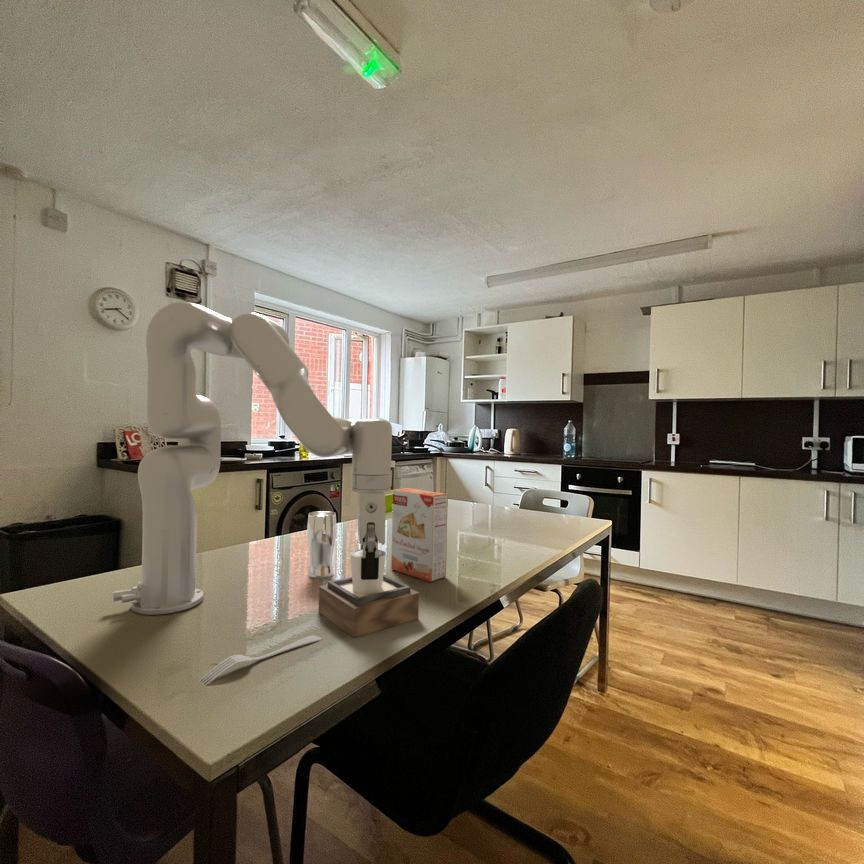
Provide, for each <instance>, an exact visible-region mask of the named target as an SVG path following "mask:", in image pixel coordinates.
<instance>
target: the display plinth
mask: <svg viewBox="0 0 864 864" xmlns="http://www.w3.org/2000/svg"><path fill="white" fill-rule="evenodd" d="M419 606H420V592H419V591H417V590H414V589H413V588H411V586H409V585H408V584H405V583H403V582H401V581H399V580H397V579H395V578H392V577H390V576H388V575H386V574H384V575H383V583H382V589H381V590H380V591H379V592H376V593H371V594H362V593H357V592H355V591H353V583H352V576H349V577H345V578H340V579H334V580H330V581H327V584H325V585H324V584H323V585H320V586H318V613H320V614H321V615H323V617H325V618H327V619H328V620H329V621H331V622H332V623H333V624H335V625H336V626H337V627H339V628H340V629H341V630H343V631H344V632H345V633H347V634H348V635H349V636H351V637H352V638H358V637H361V636H364V635H365V636H366V635H369V634H371V633H375V632H378V631H382V630H385V629H388V628H392V627H395V626H399V625H402V624H406V623H408V622H411V621H415V620H418V619H419V613H420V612H419V609H420V608H419Z"/></svg>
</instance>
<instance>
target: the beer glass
mask: <svg viewBox="0 0 864 864" xmlns="http://www.w3.org/2000/svg"><path fill="white" fill-rule="evenodd" d="M336 514H337V513H336V512H333V511H324V510H323V511H321V510H319V511H318V510H317V511H312V512H309V513H308V516H307V517H308V518H307V526H306V527H307V528H306V534H307V535H306V538H307V546H308V552H309V566H308V567H309V568H308V573H307V576H308V577H309V578H312V579H313V578H314V579H327V578H330V577H332V576H333V575H334V567H333V555H334V551H335V550H334V549H335V546H336V545H335V544H336V539H337V538H336V537H337V515H336Z"/></svg>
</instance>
